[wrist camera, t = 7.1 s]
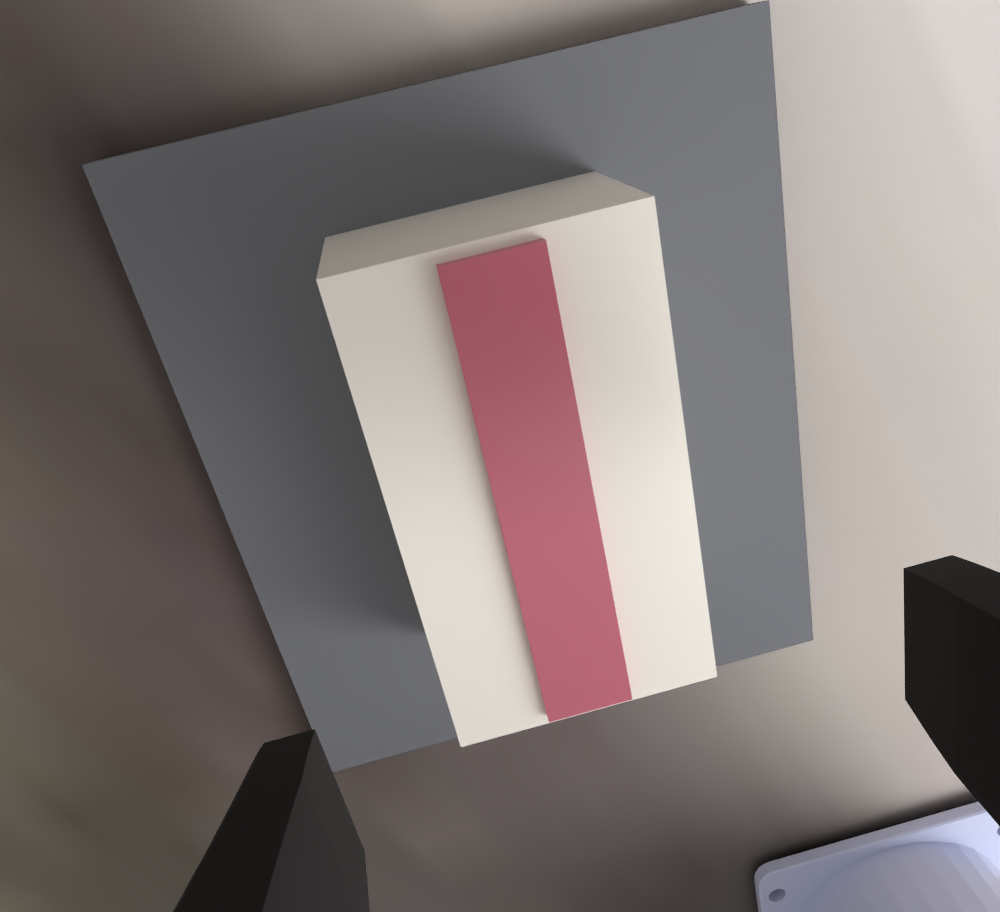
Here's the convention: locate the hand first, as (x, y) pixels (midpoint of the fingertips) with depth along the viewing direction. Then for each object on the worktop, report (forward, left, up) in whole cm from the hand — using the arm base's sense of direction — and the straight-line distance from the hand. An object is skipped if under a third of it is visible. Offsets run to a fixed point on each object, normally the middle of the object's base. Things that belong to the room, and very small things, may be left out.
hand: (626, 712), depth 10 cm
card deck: (0, 0, -8) cm, 8 cm away
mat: (0, 0, -9) cm, 9 cm away
